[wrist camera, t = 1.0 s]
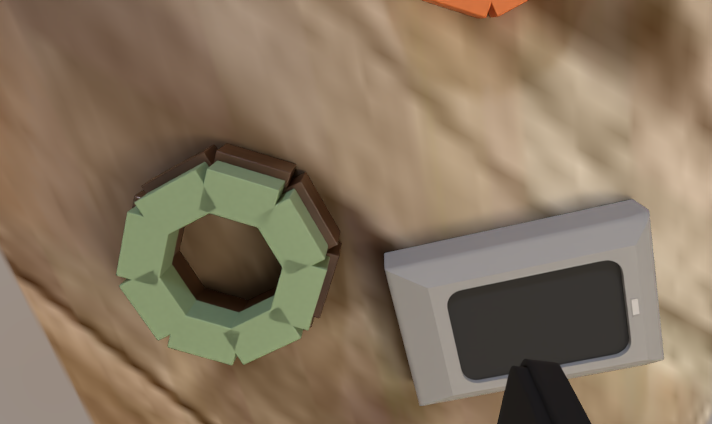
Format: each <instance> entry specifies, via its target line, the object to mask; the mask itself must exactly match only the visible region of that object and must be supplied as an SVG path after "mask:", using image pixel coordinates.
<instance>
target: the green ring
mask: <svg viewBox="0 0 712 424" xmlns="http://www.w3.org/2000/svg"><path fill="white" fill-rule="evenodd" d="M284 185H285V181H284V180H281V179H278V178H274V177H271V176H268V175H264V174H261V173H258V172H254V171H251V170H248V169H244V168H241V167H238V166H234V165H231V164H228V163H224V162H221V161H216V162H215V163H214V164H212V165H211V166H210V167H209V166H208V165H207V163H206V162H203V163H201V164H200V165H198V166H196V167H194V168H192V169H190V170H189V171H187V172H185V173H183V174H181V175H180V176H178V177H176V178H174V179H172V180H170V181H169V182H167V183H165V184H163V185H161V186H159V187H158V188H156V189H154V190H152V191H150V192H149V193H147V194H146V195H144V196H143V197H141V198H140V199H138V200H137V201H136V202H135V205H136V206H135V207H134V208H132V209H131V210H130V211H128V212H127V217H126V223H125V228H124V234H123V239H122V245H121V251H120V256H119V262H118V267H117V273H116V275H117V276H120V277H123V278H127V279H126V280H125V281H124V282H123V283H121V284H120V286H119V287H120V288H121V290H122V291H123V293H124V294H125V295H126V297H127V298H128V300H129V301H130V302H131V304H132V305H133V307H134V308H135V309H136V311H137V312H138V314H139V315H140V316H141V318H142V319H143V321H144V322H145V323H146V325H147V326H148V328H149V329H150V330H151V332H152V333H153V335H154V336H155V337H156V339H157V340H160V339H163V338H165V337H167V336H169V335H170V337H169V342H168V348H172V349H176V350H179V351H183V352H186V353H190V354H193V355H197V356H200V357H204V358H207V359H211V360H214V361H218V362H222V363H225V364H229V365H233V363H234V361H235V359H236V357H237V356H238V358H239V359H240V361H241V362H242V364H243V365H244V364H246V363H249V362H251V361H253V360H255V359H257V358H259V357H262V356H264V355H266V354H268V353H270V352H272V351H275V350H277V349H279V348H281V347H283V346H285V345H288V344H290V343H292V342H294V341H296V340H298V339H300V338H301V336H302V332H303V329H304V330H309V327H310V324H311V321H312V317H313V314H314V311H315V308H316V304H317V301H318V298H319V295H320V292H321V288H322V285H323V282H324V279H325V275H326V272H327V268H328V264H329V260H330V257H329V256H326V254H327V249H328V244H327V243H326V241H325V239H324V237H323V236H322V234H321V232H320V231H319V229H318V227H317V226H316V224H315V222H314V220H313V219H312V217H311V215H310V214H309V212H308V210H307V208H306V207H305V205H304V203H303V202H302V200H301V198H300V196H299V195H298V193H297V191H296V190H295V189H292V190H290V191H288V192H286V193H284V194H282V192H283V188H284ZM209 213H210V214H213V215H217V216H220V217H223V218H227V219H230V220H234V221H237V222H240V223H244V224H247V225H251V226H254V227H257V228H258V229H259V231H260V233H261V234H262V236H263V237H264V239H265V241H266V242H267V244H268V246H269V247H270V249H271V250H272V252H273V254H274V255H275V257H276V258H277V260H278V262H279V263H280V265H281V267H282V270H281V274H280V277H279V281H278V284H277V288H276V291H275V295H274V296H272V297H270V298H268V299H266V300H264V301H262V302H260V303H257V304H255V305H253V306H251V307H249V308H247V309H245V310H243V311H241V312H236V311H232V310H229V309H225V308H222V307H218V306H215V305H211V304H208V303H204V302H201V301H198V300H196V299H195V297H194V296H193V294H192V293H191V291H190V290H189V289H188V287H187V286H186V284H185V283H184V281H183V280H182V278H181V277H180V275H179V274H178V272H177V271H176V269H175V268H174V266H173V265H172V261H173V256H174V252H175V247H176V242H177V238H178V233H179V229H180V228H182V227H184V226H186V225H188V224H190V223H192V222H194V221H196V220H198V219H199V218H201V217H203V216H205V215H207V214H209Z"/></svg>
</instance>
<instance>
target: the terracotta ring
mask: <svg viewBox="0 0 712 424" xmlns="http://www.w3.org/2000/svg"><path fill="white" fill-rule="evenodd" d="M422 1H426V2H429V3H432V4H435V5H438V6H441V7H444V8H447V9H450V10H454V11H457V12H460V13H463V14H466V15H469V16H472V17H475V18H486V17H487V14H489V16H490V17H498V16H500V15H502V14H504V13H506V12H508V11H510V10H511V9H513V8H515V7H517V6H519V5H521V4H522V3H524V2H526V1H528V0H422Z"/></svg>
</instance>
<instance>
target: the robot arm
mask: <svg viewBox="0 0 712 424" xmlns="http://www.w3.org/2000/svg"><path fill="white" fill-rule="evenodd" d="M497 424H591V422H590V420H589V419H588V417H587V415H586V413H585V411H584V409H583V407H582V405H581V404H580V402H579V400H578V398H577V396H576V394H575V392H574V390H573V389H572V387H571V385H570V383H569V381H568V379H567V377H566V375H565V374H564V372H563V370H562V368H561V366H560V365H559V364H558V363H556V362H549V361H540V360H532V359H524V360H523V361H522V363H521V365H520V366H512V367H511V368H510V371H509V374H508V379H507V383H506V387H505V392H504V396H503V401H502V405H501V410H500V414H499V419H498V423H497Z"/></svg>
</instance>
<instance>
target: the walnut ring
mask: <svg viewBox="0 0 712 424" xmlns="http://www.w3.org/2000/svg"><path fill="white" fill-rule="evenodd" d="M216 161H221V162H224V163H228V164H231V165H234V166H238V167H241V168H244V169H248V170H251V171H254V172H258V173H261V174H264V175H268V176H271V177H274V178H278V179H281V180H284V181H285V185H284V188H283V192H282V194H284V193H286V192H288V191H290V190H292V189H295V190H296V191H297V193H298V195H299V196H300V198H301V200H302V202H303V203H304V205H305V207H306V208H307V210H308V212H309V214H310V215H311V217H312V219H313V220H314V222H315V224H316V226H317V227H318V229H319V231H320V232H321V234H322V236H323V237H324V239H325V241H326V243H327V244H328V249H327V254H326V256H329V257H330V260H329V264H328V268H327V272H326V275H325V279H324V282H323V285H322V288H321V292H320V295H319V298H318V301H317V304H316V308H315V311H314V314H313V317H312V321H311V324H310V327H312V324H313V319H314V317H316V318H320V316H321V313H322V309H323V306H324V303H325V300H326V297H327V294H328V290H329V287H330V284H331V281H332V278H333V275H334V271H335V268H336V265H337V262H338V259H339V255H340V249H341V243H340V242H338V240H339V235H340V230H339V229H338V227H337V225H336V223H335V222H334V220H333V218H332V216H331V215H330V213H329V211H328V209H327V208H326V206H325V204H324V202H323V201H322V199H321V197H320V196H319V194H318V192H317V190H316V189H315V187H314V185H313V183H312V182H311V180H310V178H309V176H308V175H307V173H306V172H305V173H303V174H301V175H299V176H297V177H295V178H293V175H294V171H295V168H296V164H294V163H290V162H287V161H284V160H280V159H277V158H274V157H271V156H267V155H264V154H261V153H257V152H254V151H251V150H247V149H244V148H241V147H237V146H234V145H231V144H228V143H227V144H225V145H224V146H222V147H221V148H220V149H217V148H216V146H215V145H212V146H210V147H209V148H207V149H205V150H203V151H201V152H200V153H198V154H196V155H194V156H192V157H191V158H189V159H187V160H185V161H183V162H182V163H180V164H178V165H176V166H174V167H172V168H171V169H169V170H167V171H165V172H163V173H162V174H160V175H158V176H156V177H155V178H153V179H152V180H150V181H148V182H147V183H145V184H144V185H142V188H143V191H141V192H140V193H138V194H137V195H135V196H134V202H133V207H132V208H134V207H135V206H136V205H135V202H136V201H137V200H138V199H140V198H141V197H143V196H144V195H146V194H147V193H149V192H150V191H152V190H154V189H156V188H158V187H159V186H161V185H163V184H165V183H167V182H169V181H170V180H172V179H174V178H176V177H178V176H180V175H181V174H183V173H185V172H187V171H189V170H190V169H192V168H194V167H196V166H198V165H200V164H201V163H203V162H206V163H207V165H208V166H209V167H210V166H211V165H212V164H214V163H215V162H216ZM183 231H184V227H182V228H180V229H179V233H178V238H177V242H176V247H175V252H174V256H173V261H172V265H173V266H174V268H175V269H176V271H177V272H178V274H179V275H180V277H181V278H182V280H183V281H184V283H185V284H186V286H187V287H188V289H189V290H190V291H191V293H192V294H193V296H194V297H195V299H196V300H198V301H201V302H204V303H208V304H211V305H215V306H218V307H222V308H225V309H229V310H232V311H236V312H241V311H243V310H245V309H247V308H249V307H251V306H253V305H255V304H257V303H260V302H262V301H264V300H266V299H268V298H270V297H272V296H274V295H275V291H276V288H277V287H275V288H273V289H271V290H269V291H267V292H265V293H263V294H261V295H259V296H257V297H255V298H253V299H250V300H245V299H241V298H238V297H234V296H231V295H227V294H224V293H221V292H217V291H214V290H210V289H207V288H204V287H203V285H202V284H201V282H200V281H199V279H198V278H197V276H196V275H195V273H194V272H193V270H192V269H191V267H190V266H189V264H188V263H187V261H186V260H185V258H184V257H183V255H182V254H181V252H180V251H179V249H180V245H181V240H182V236H183ZM310 327H309V328H310ZM303 330H304V329H303Z"/></svg>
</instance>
